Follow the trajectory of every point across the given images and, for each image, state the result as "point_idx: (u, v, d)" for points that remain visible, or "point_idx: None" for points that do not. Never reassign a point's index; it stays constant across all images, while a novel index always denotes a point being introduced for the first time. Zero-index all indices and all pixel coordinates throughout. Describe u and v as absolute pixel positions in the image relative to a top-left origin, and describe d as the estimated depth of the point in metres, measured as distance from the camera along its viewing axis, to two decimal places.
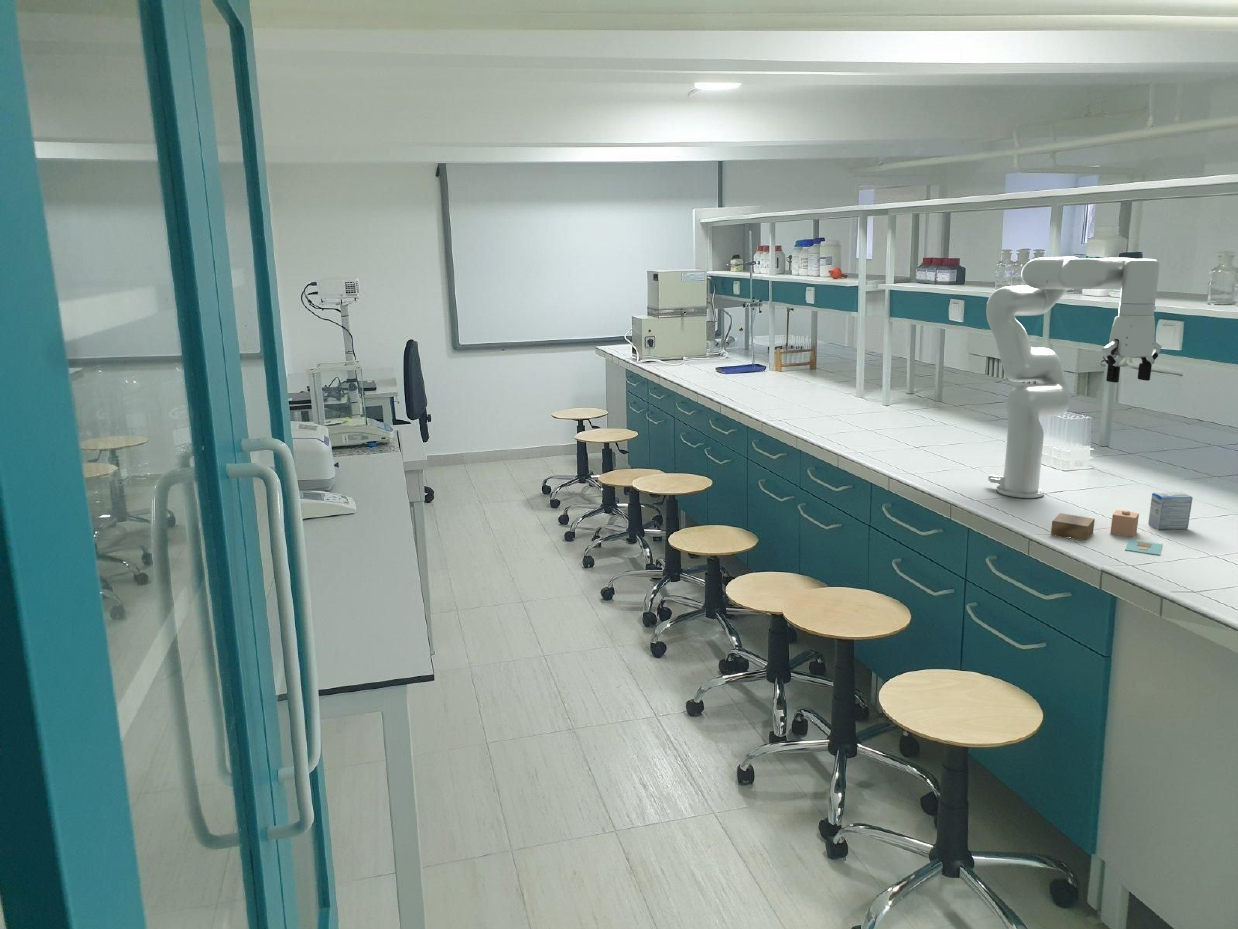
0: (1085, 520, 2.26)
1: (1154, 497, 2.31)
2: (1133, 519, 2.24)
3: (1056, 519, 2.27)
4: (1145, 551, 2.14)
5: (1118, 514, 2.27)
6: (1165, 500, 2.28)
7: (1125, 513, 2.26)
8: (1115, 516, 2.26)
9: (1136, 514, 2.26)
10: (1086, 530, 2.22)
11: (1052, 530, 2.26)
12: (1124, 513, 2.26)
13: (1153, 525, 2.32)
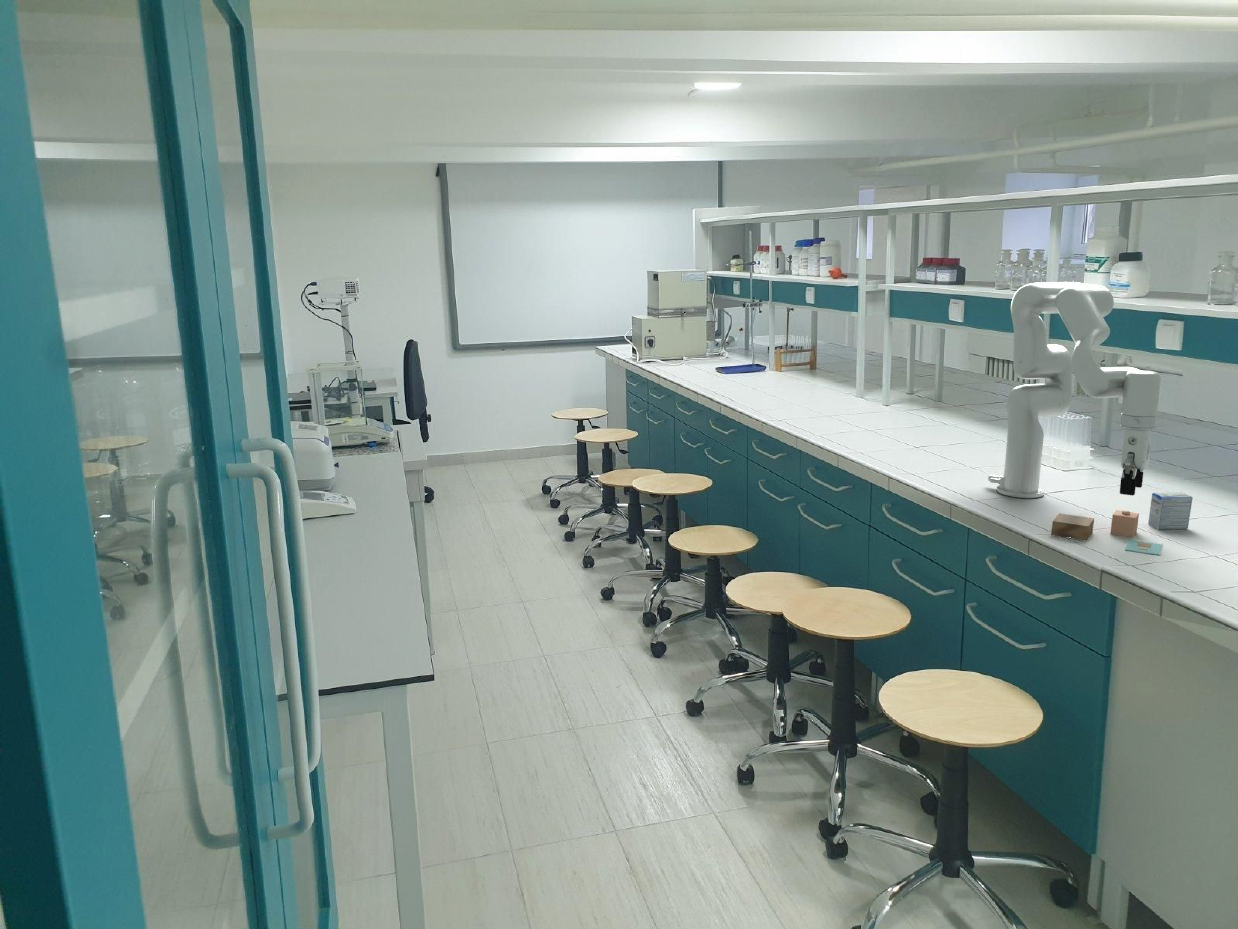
0: (1085, 520, 2.26)
1: (1154, 497, 2.31)
2: (1133, 519, 2.24)
3: (1056, 519, 2.27)
4: (1145, 551, 2.14)
5: (1118, 514, 2.27)
6: (1165, 500, 2.28)
7: (1125, 513, 2.26)
8: (1115, 516, 2.26)
9: (1136, 514, 2.26)
10: (1087, 530, 2.22)
11: (1052, 530, 2.26)
12: (1124, 513, 2.26)
13: (1153, 525, 2.32)
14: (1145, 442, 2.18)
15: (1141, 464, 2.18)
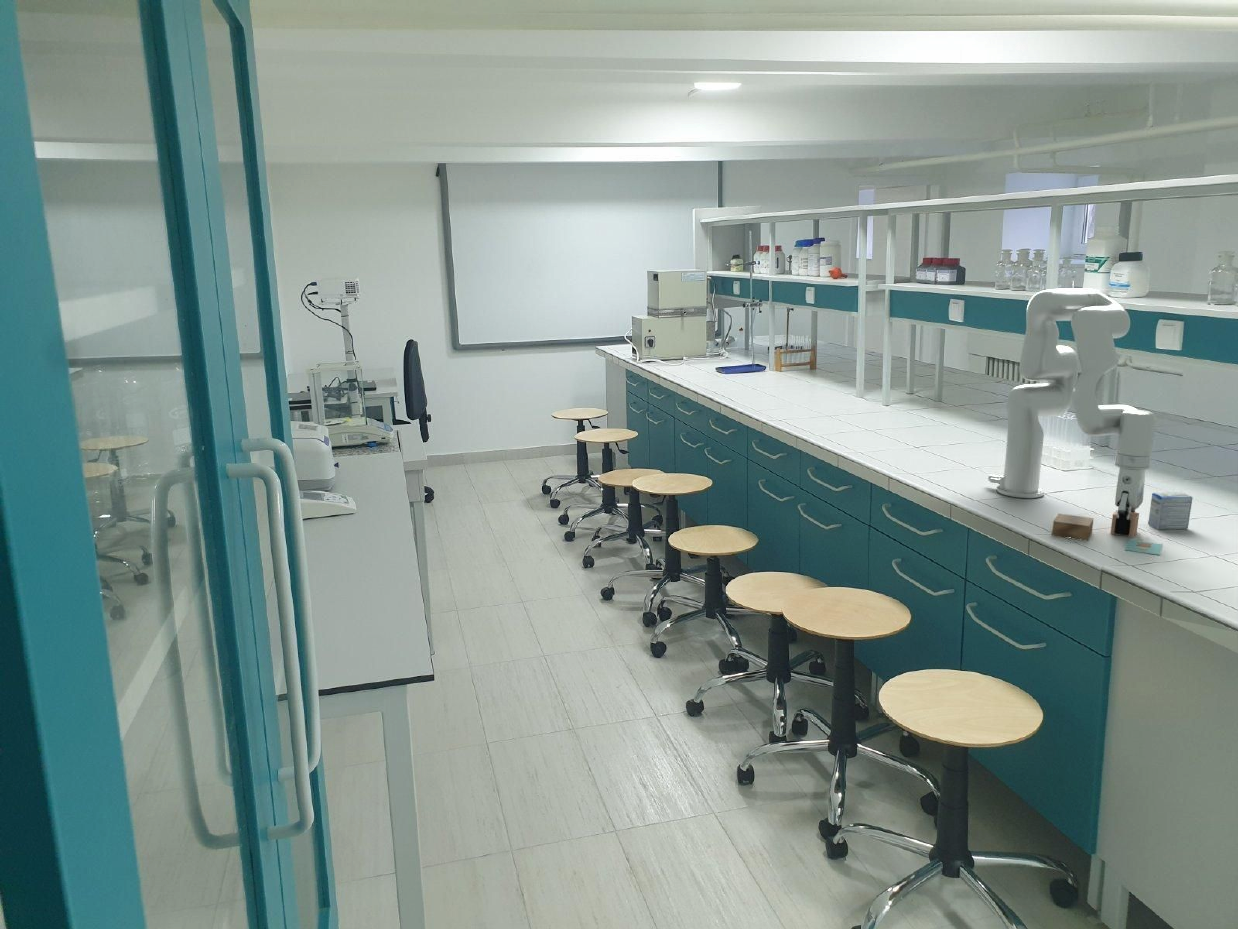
0: (1085, 520, 2.26)
1: (1154, 497, 2.31)
2: (1133, 519, 2.24)
3: (1057, 519, 2.27)
4: (1145, 551, 2.14)
5: None
6: (1165, 500, 2.28)
7: None
8: (1115, 516, 2.26)
9: (1136, 514, 2.26)
10: (1088, 530, 2.22)
11: (1053, 531, 2.26)
12: None
13: (1153, 525, 2.32)
14: (1139, 481, 2.20)
15: (1135, 503, 2.21)
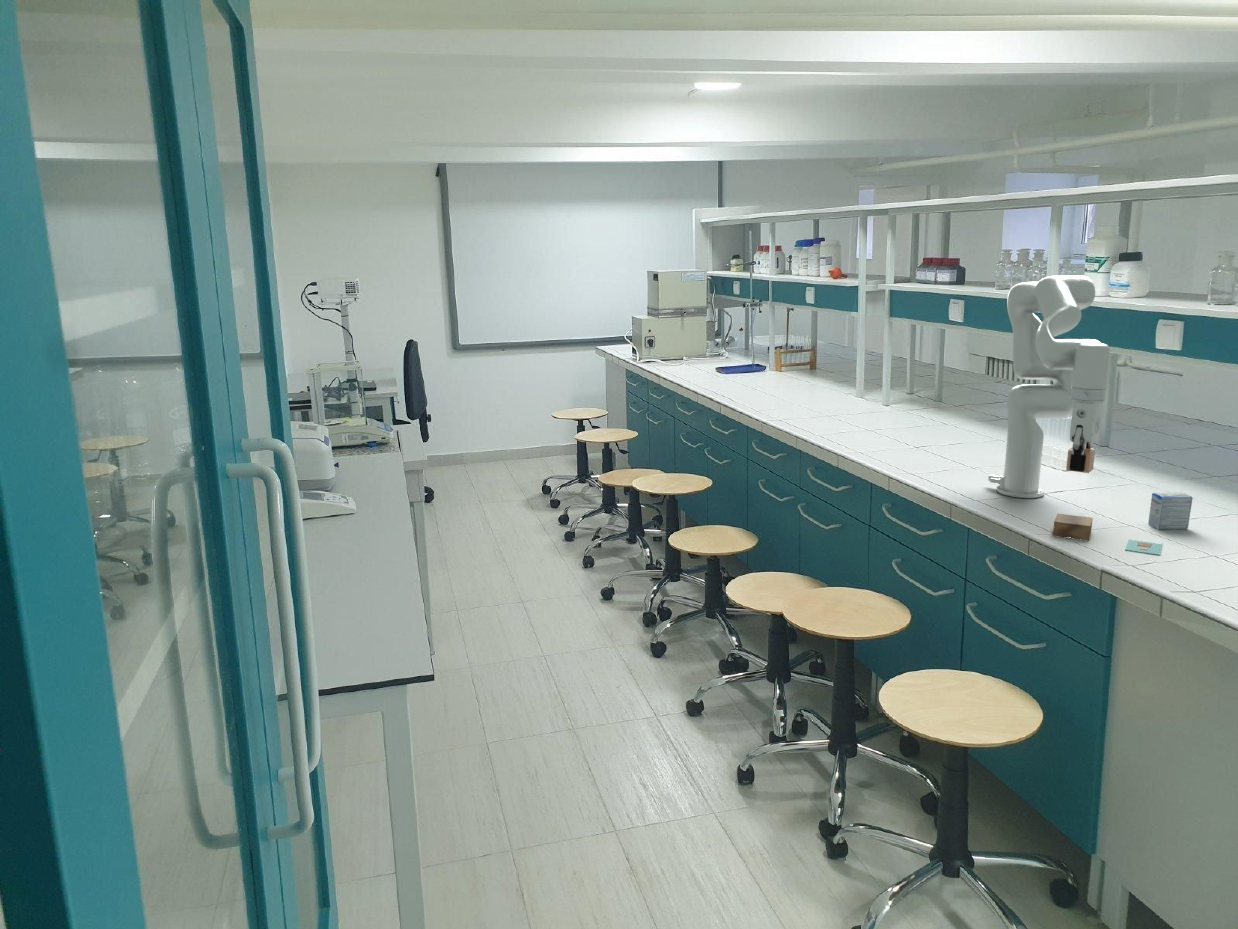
0: (1085, 520, 2.26)
1: (1154, 497, 2.31)
2: (1088, 454, 2.19)
3: (1057, 520, 2.26)
4: (1145, 551, 2.14)
5: None
6: (1165, 500, 2.28)
7: None
8: None
9: (1092, 450, 2.22)
10: (1089, 530, 2.22)
11: (1054, 531, 2.26)
12: None
13: (1153, 525, 2.32)
14: (1094, 415, 2.16)
15: (1089, 437, 2.16)
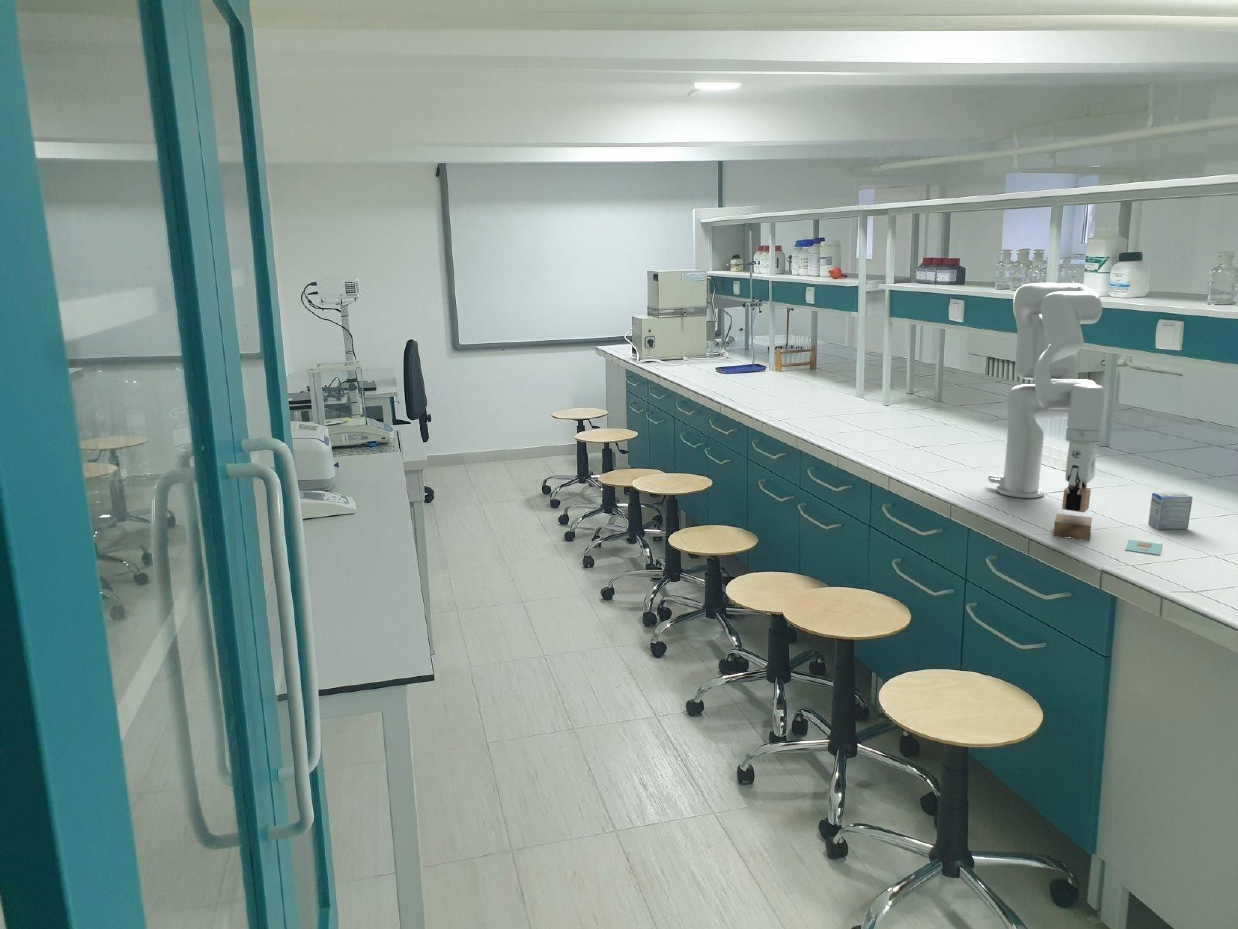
0: (1085, 519, 2.26)
1: (1154, 497, 2.31)
2: (1084, 494, 2.22)
3: (1057, 520, 2.26)
4: (1145, 551, 2.14)
5: None
6: (1165, 500, 2.28)
7: None
8: (1066, 491, 2.24)
9: (1088, 489, 2.24)
10: (1089, 530, 2.22)
11: (1055, 531, 2.26)
12: None
13: (1153, 525, 2.32)
14: (1089, 456, 2.18)
15: (1085, 477, 2.19)
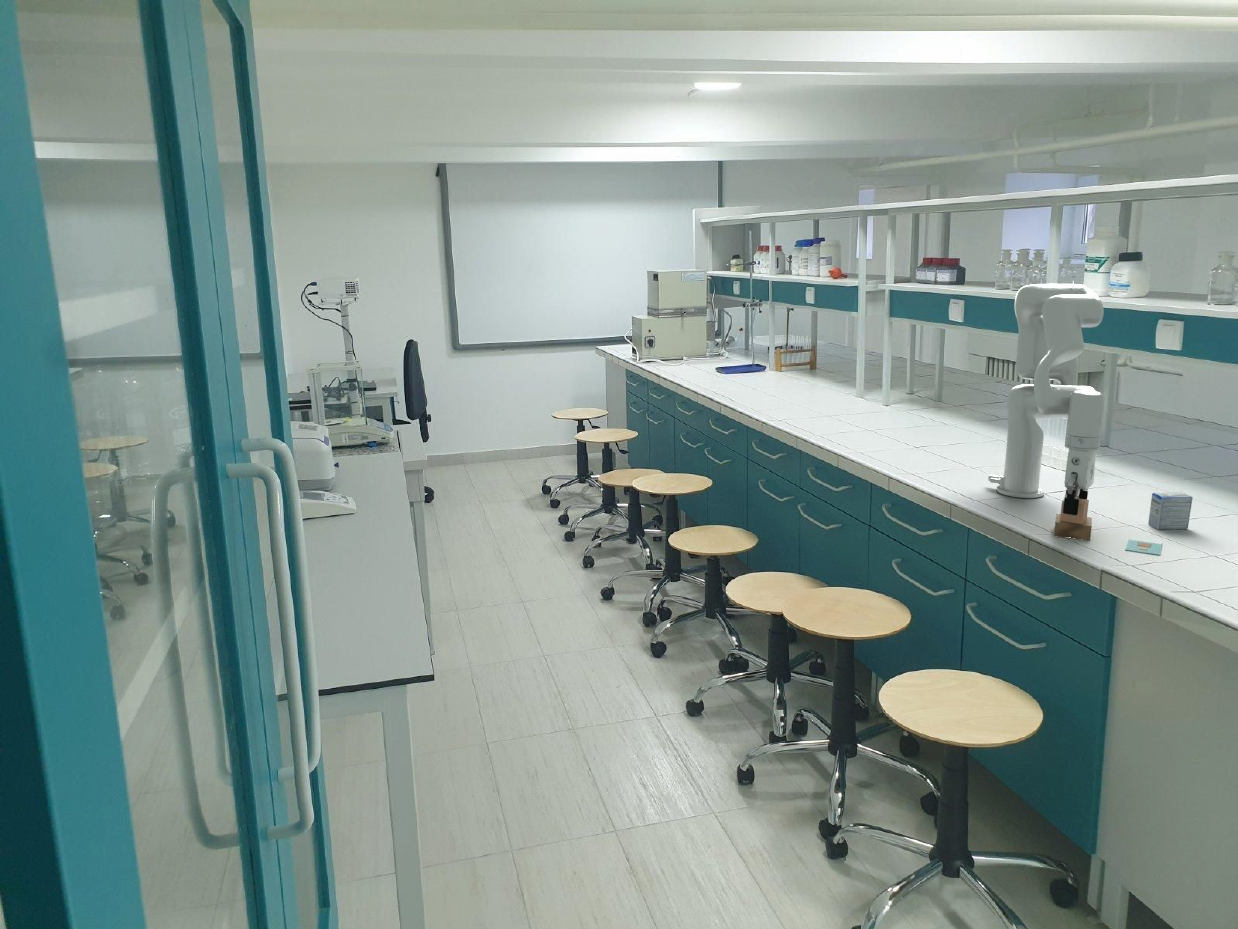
0: None
1: (1154, 497, 2.31)
2: (1082, 505, 2.22)
3: (1058, 520, 2.26)
4: (1145, 551, 2.14)
5: None
6: (1165, 500, 2.28)
7: None
8: None
9: (1086, 501, 2.25)
10: (1090, 530, 2.22)
11: (1055, 532, 2.25)
12: None
13: (1153, 525, 2.32)
14: (1088, 462, 2.19)
15: (1084, 484, 2.19)
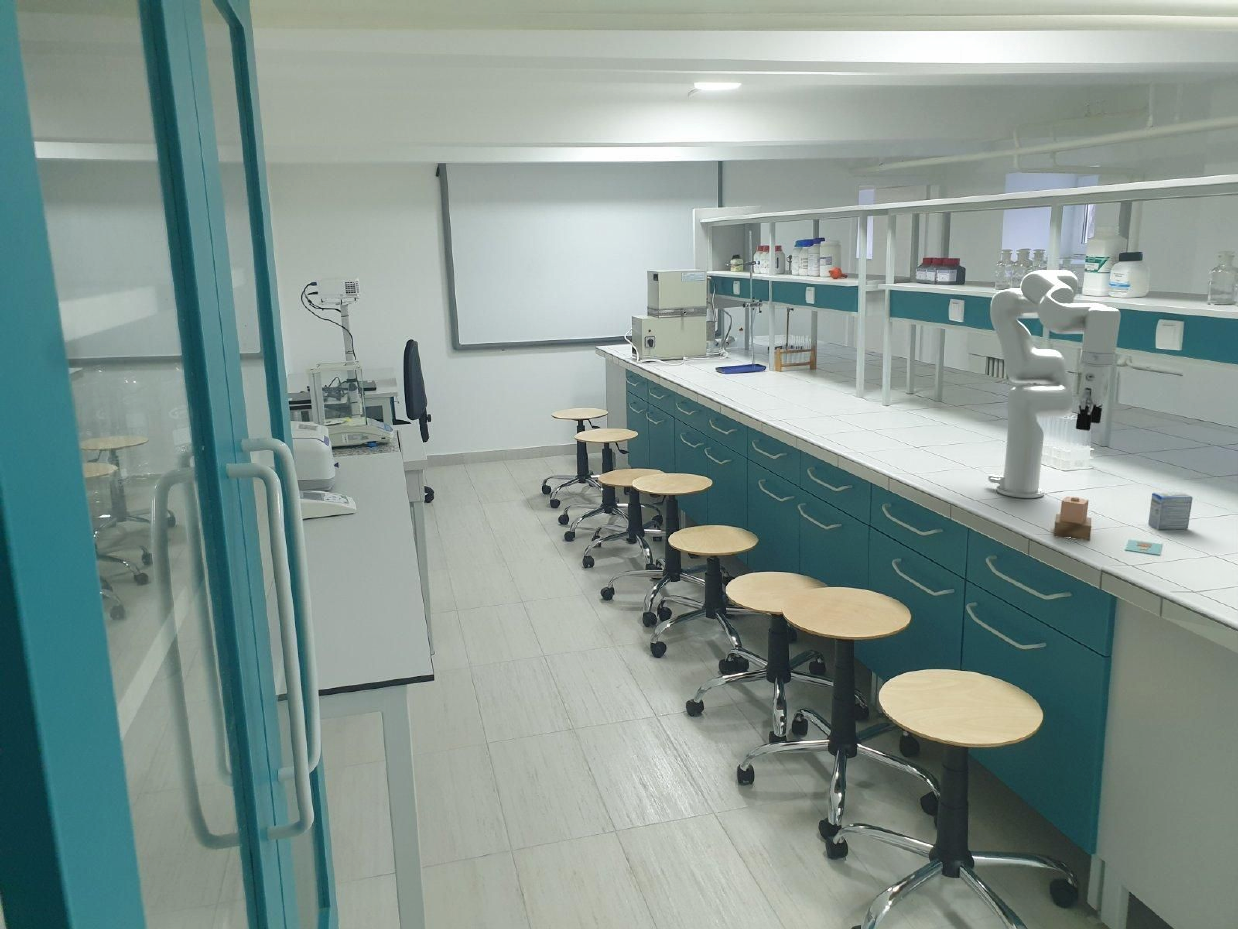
0: (1085, 520, 2.27)
1: (1154, 497, 2.31)
2: (1081, 505, 2.23)
3: (1057, 520, 2.26)
4: (1145, 551, 2.14)
5: (1067, 500, 2.25)
6: (1165, 500, 2.28)
7: (1074, 499, 2.25)
8: (1064, 502, 2.25)
9: (1085, 500, 2.25)
10: (1090, 530, 2.22)
11: (1055, 531, 2.26)
12: (1073, 499, 2.25)
13: (1153, 525, 2.32)
14: (1102, 378, 2.22)
15: (1097, 400, 2.23)
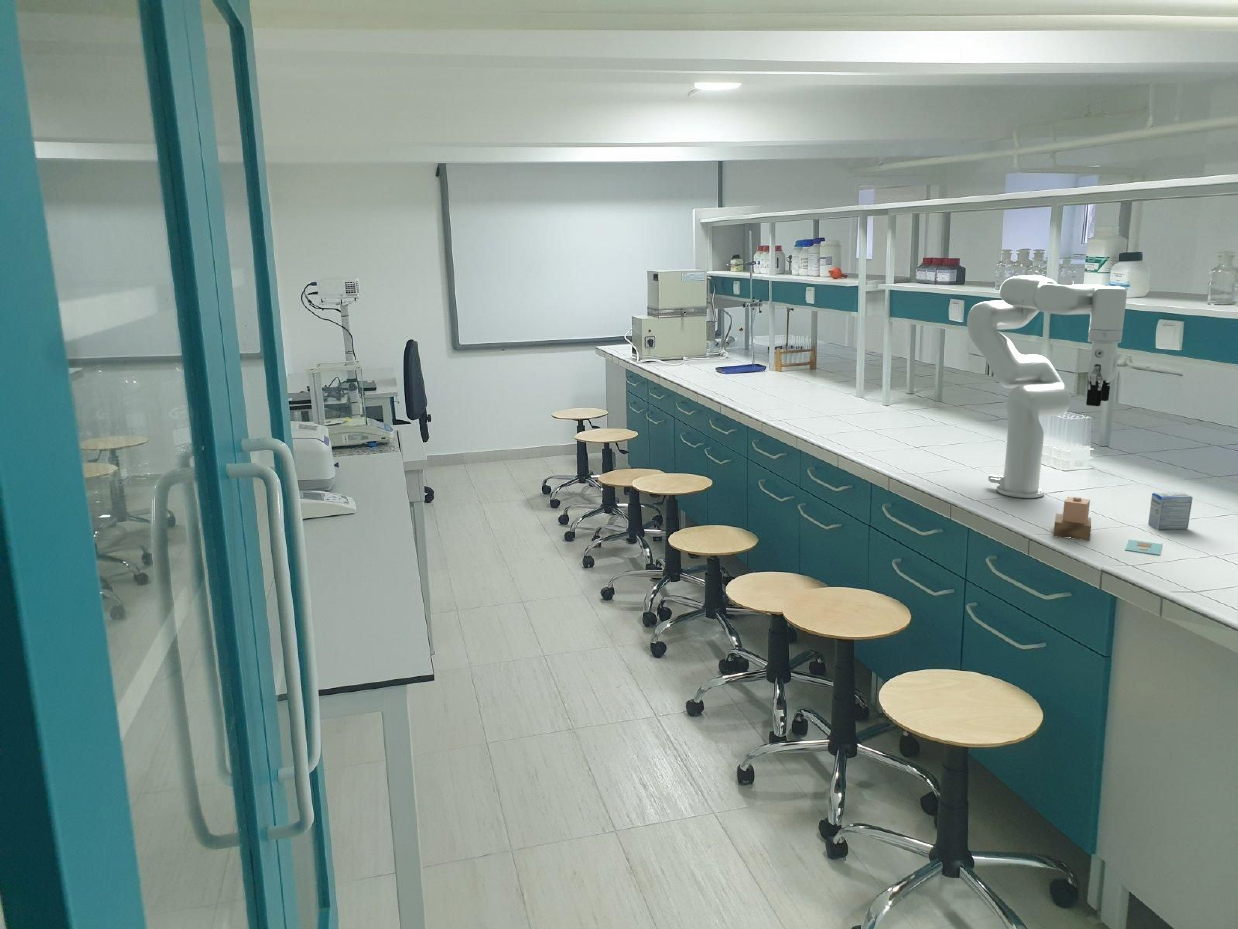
0: None
1: (1154, 497, 2.31)
2: (1085, 505, 2.22)
3: (1057, 520, 2.26)
4: (1145, 551, 2.14)
5: (1070, 501, 2.25)
6: (1165, 500, 2.28)
7: (1076, 500, 2.25)
8: (1067, 503, 2.25)
9: (1087, 500, 2.25)
10: (1089, 530, 2.22)
11: (1055, 531, 2.25)
12: (1075, 500, 2.25)
13: (1153, 525, 2.32)
14: (1111, 354, 2.28)
15: (1107, 376, 2.28)
